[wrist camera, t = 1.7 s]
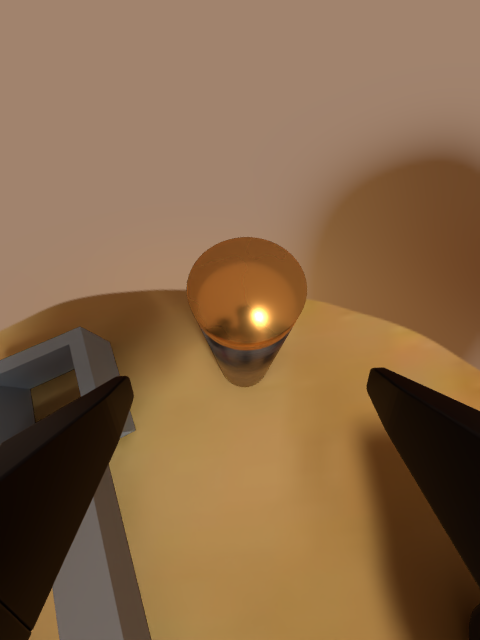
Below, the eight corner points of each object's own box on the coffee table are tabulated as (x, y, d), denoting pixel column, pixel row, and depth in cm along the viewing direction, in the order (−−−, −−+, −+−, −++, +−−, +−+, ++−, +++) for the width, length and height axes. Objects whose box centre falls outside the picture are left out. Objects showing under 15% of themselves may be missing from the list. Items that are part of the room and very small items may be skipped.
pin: (251, 396, 19) (267, 367, 7) (211, 369, 19) (161, 300, 7) (276, 356, 20) (327, 269, 8) (237, 332, 21) (230, 221, 9)
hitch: (223, 723, 12) (214, 858, 9) (73, 840, 11) (-13, 1057, 7) (109, 342, 20) (80, 326, 17) (16, 383, 19) (-39, 376, 15)
